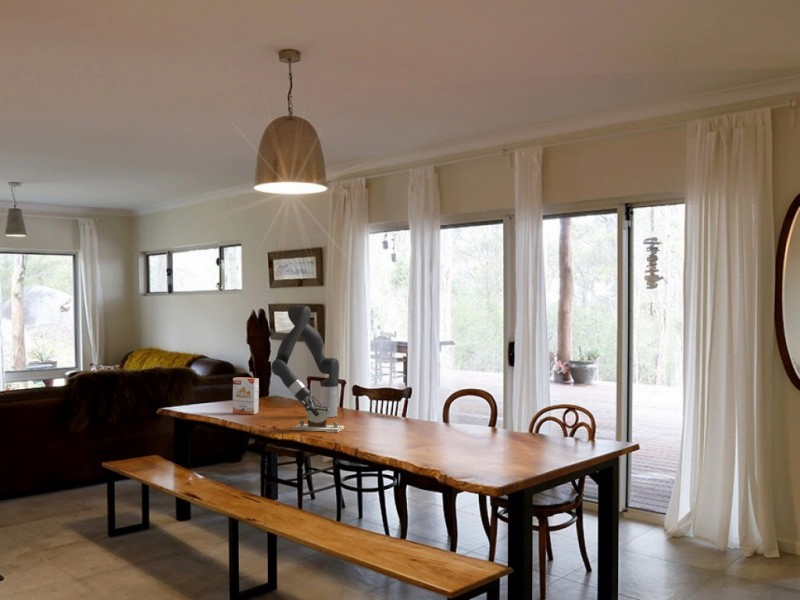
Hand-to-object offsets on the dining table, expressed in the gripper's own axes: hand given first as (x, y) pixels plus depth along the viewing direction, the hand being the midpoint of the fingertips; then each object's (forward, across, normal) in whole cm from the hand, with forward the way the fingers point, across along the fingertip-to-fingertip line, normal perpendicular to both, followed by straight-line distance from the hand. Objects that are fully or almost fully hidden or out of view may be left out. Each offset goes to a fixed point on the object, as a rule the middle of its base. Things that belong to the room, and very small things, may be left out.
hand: (320, 414), depth 346 cm
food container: (+4, 0, +6) cm, 7 cm away
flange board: (+5, 0, +6) cm, 8 cm away
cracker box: (-36, +39, +48) cm, 71 cm away
